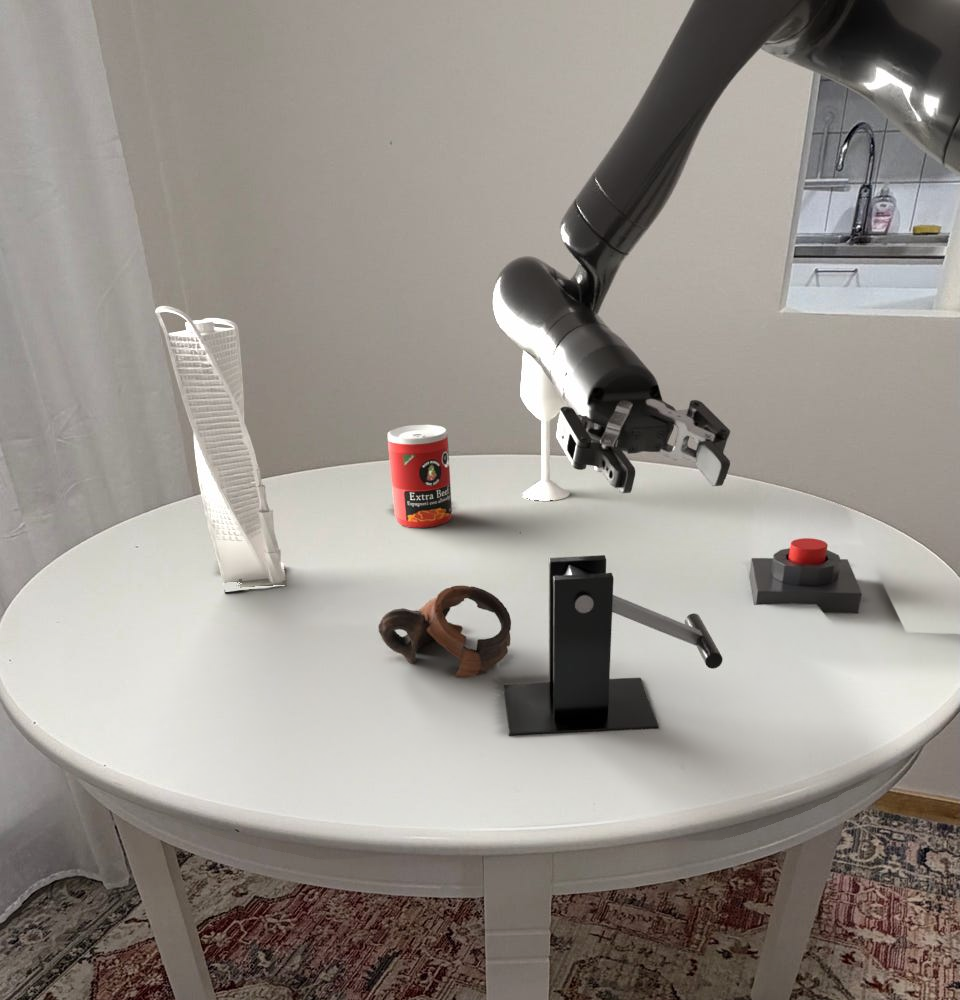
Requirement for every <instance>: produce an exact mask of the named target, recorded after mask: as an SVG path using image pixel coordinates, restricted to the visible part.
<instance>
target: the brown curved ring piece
mask: <svg viewBox="0 0 960 1000" xmlns="http://www.w3.org/2000/svg"><path fill="white" fill-rule="evenodd" d="M465 599H468V600H470V601H473V602H474V603H475V604H476V607H477V608H478V609H481V610H483V611H488V612H491V613H492V614H494V615H495V616H496V618H497V619H498V621H499V624H500V630H499V632H498V633H497V634H495V635H494V636H492V637H488V638H481V639H480V638H479V639H477V641H476V648H475V649H474V648H469V647H467V646H466V642H467V636H466V635H464V634H463V633H462V631H463V630H464V627H463V626H462V625H460V624H454V623H452V622H450V621H448V620H447V618H446V617H447V616H448V614H449V612H450V610H451V608H453V607H457V606H459V605H460V604H462V602H465ZM397 630H401V631H404V632H406V635H404V636H402V635H400V634H398V633H397V632H396V631H397ZM511 630H512V619H511V615H510V613H509V611H508V609H507V607H506V606H505V605H504V603H503V602H502V601H501V600H500V599H499V597H497V596H495V595H494V594H493V593H490V592H489V591H487V590H485V589H482V588H479V587H476V586H470V585H469V586H468V585H453V586H450V587H447V588H446V587H445V589H443V590H442V591H440V592H439V593H438V594H437V596H435V597H434V598H431V599H430V600H429V601H427V602H425V604H424V605H423V606H421V608H419V609H417V610H411V609H407V608H403V607H402V608H395V609H392V610H390V611H388V612H386V613H385V614H384V615H383V617H381V620H380V622H379V623H378V633H379V635H380V637H381V640H382V641H383V643H384V644H385V645H386V647H388V648H389V649H390V650H392V651H393V652H395V653H398V654H400V655H402V656H403V657H404V658H405V660H406V661H407V662H408V663H409V664H410V665H415V664H416V662H417V655H416V654H417V651H418V650H419V648H421V647H422V646H423V645H425V644H427V643H429V642H432V641H436V643H437V644H439V645H440V646H442V647H443V648H444V649H445V650H446V651H447V652H449V654H451V655H453V656H454V657H456V658H457V659H459V660H460V661H459V666H458V670H457V671H456V672H455V675H454V677H455V678H469V677H470V678H471V677H476V676H478V675H479V673H480V674H485V673H486V672H488V671H489V670H491V669H492V668H494V667H495V666H496V665H498V664H499V663H500V662H501V661H502V660H503V659H504V658H505V656H506V655H507V654H508V652H509V650H508V647H510V645H511V640H512V639H511Z"/></svg>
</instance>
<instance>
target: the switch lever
mask: <svg viewBox="0 0 960 1000" xmlns="http://www.w3.org/2000/svg"><path fill="white" fill-rule="evenodd" d="M579 574H590V573H588V572H585V571H583V570H581V569H578V568H576V567H573V566H571V565H569V566H568V568H567V570H566V572H565V574H564V575H579ZM612 613H614V614H616V615H618V616H621V617H623V618H626V619H628V620H631V621H634V622H636V623H638V624H641V625H644V626H646V627H648V628H650V629H653V630H655V631H658V632H661V633H663V634H665V635H667V636H670V637H673V638H676V639H678V640H681V641H683V642H685V643H688V644H691V645H692V646H695V647H696V649H697V650H698V652H699V654H700V656H701V658H702V660H703V662H704V664H705V666H706V667H707V668H709V669H713V670H714V669H717V668H719V667H720V666H721V665H722V663H723V656H722V654H721V653H720V650H719V649H718V647H717V645H716V643H715V641H714V639H713V638H712V636H711V634H710V632H709V631H708V629H707V627H706V625H705V624H704V622H703V619H702V618H701V616H700V615H699V614H697V613H690V614H688V615H686V617H685V619H684V623H683V622H681V621H678V620H676V619H674V618H671V617H669V616H667V615H663V614H661V613H659V612H656V611H654V610H652V609H649V608H647V607H644V606H641V605H639V604H636V603H635V602H632V601H630V600H627V599H625V598H623V597H619V596H617V595H615V594H613V604H612Z"/></svg>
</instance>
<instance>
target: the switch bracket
mask: <svg viewBox="0 0 960 1000" xmlns="http://www.w3.org/2000/svg"><path fill="white" fill-rule="evenodd" d="M569 565H571V566H573V567H576V568H578V569H581V570H583V571H585V572H588V573H590V574H579V575H564V574H565V572H566V570H567V568H568V566H569ZM614 580H615V579H614V575H613V573H612V572H607V557H606V555H604V554H602V555H581V556H563V557H562V556H561V557H560V556H559V557H549V558H548V681H545V682H544V681H543V682H541V681H540V682H525V683H523V682H522V683H505V684H503V693H504V703H505V715H506V723H507V724H506V725H507V732H508V733H507V734H508V736H509V737H518V736H519V737H520V736H521V737H522V736H540V735H560V734H579V733H581V734H583V733H599V732H601V733H602V732H618V731H619V732H620V731H621V732H622V731H638V730H640V731H641V730H658V729H660V727H659V723H658V721H657V717H656V715H655V713H654V710H653V707H652V704H651V702H650V699H649V696H648V694H647V691H646V689H645V686H644V682H643V680H642V678H641V677H625V678H624V677H621V678H610V675H611V652H612V649H611V648H612V630H613V629H612V625H613V612H612V604H613V595H614Z"/></svg>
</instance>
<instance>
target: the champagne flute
mask: <svg viewBox="0 0 960 1000" xmlns="http://www.w3.org/2000/svg"><path fill="white" fill-rule="evenodd" d="M522 352H523V353H522V365H521V380H520V394H519V395H520V398H521V400H522V402H523V404H524V405H525V407H526V408H527V410H528V411H530V412H531V414H532V415H533V416H535V418H537V420H540V422H541V425H540V426H541V427H540V429H541V433H540V434H541V435H540V437H541V439H540V441H541V442H540V443H541V447H540V449H541V454H540V455H541V479H540V481H538V482H537V483H536V484H534V485H532V486H531V487H529V488H528V489H527V490H525V491H523V492H522V494H523V496H522V498H524V499H526V498H528V499H527V500H529V499H530V500H529V501H534V500H539V501H538V502H551V501H550V500H553V501H559V500H562V499H565V498H567V497H569V496H570V491H568V490H567V489H565V488H564V487H562V486H561V485H558V484H557V483H556V482H554V481H552V480H551V420H553V419H554V418H555V417H557V415H558V414H560V409H561V408H562V407H565V405H564V404H563V402H562V401H561V399H560V397H559V395H558V393H557V390H556V388H555V386H554V385H553V384H552V382H551V381H550V379H549V378H548V377H547V375H546V374H545V372H544V371H543V369H542V367H541V366H540V365H539V364H538V363H537V362H536V361H535V360H534V359H533V358H532V357H531V356H530V355H528V354H527V353H526V352H525V351H523V350H522Z"/></svg>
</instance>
